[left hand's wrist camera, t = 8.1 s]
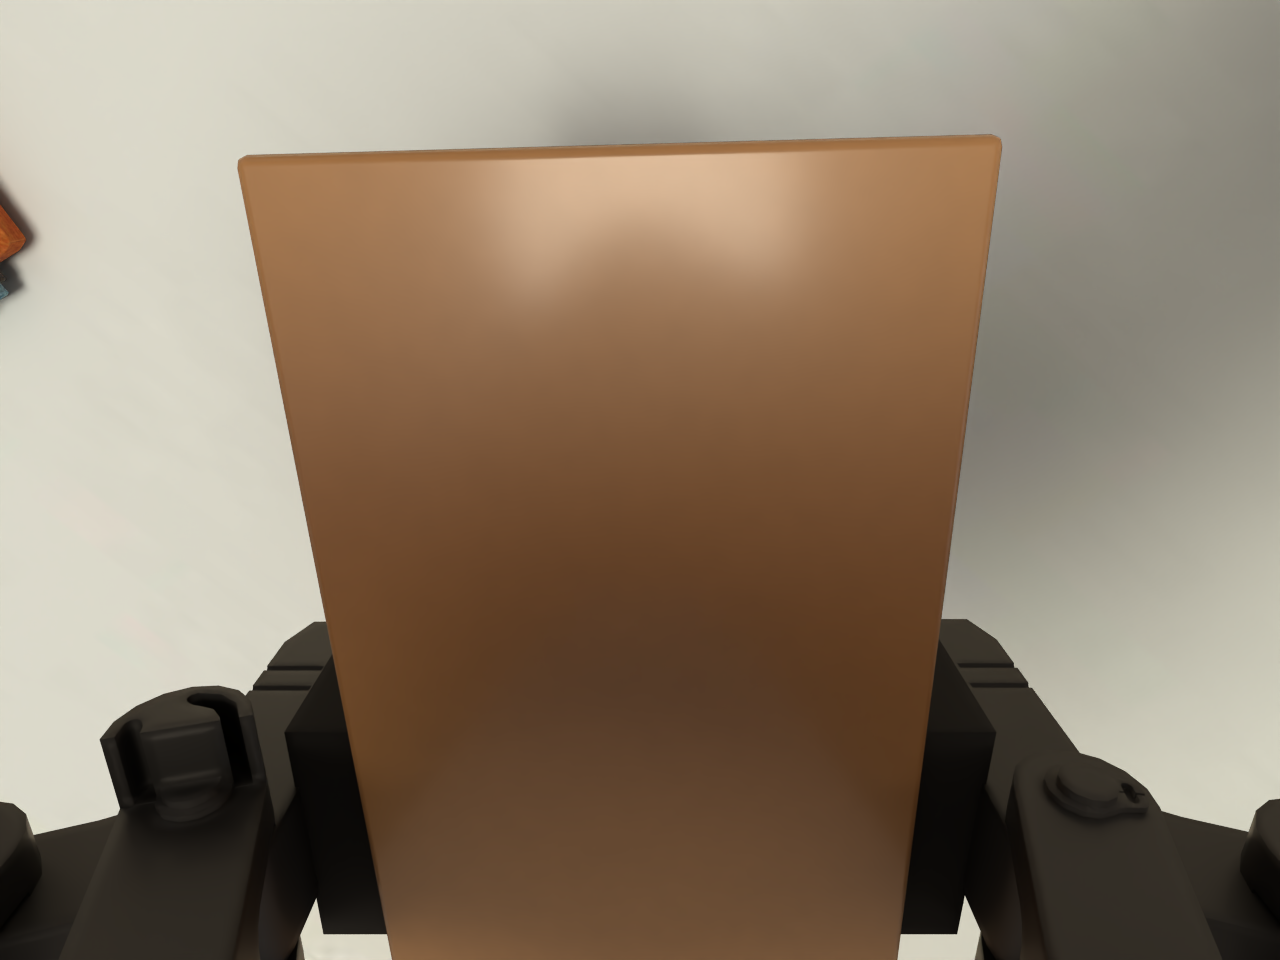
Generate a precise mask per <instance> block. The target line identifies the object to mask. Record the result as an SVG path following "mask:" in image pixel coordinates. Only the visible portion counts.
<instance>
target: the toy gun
mask: <svg viewBox="0 0 1280 960" xmlns="http://www.w3.org/2000/svg"><path fill="white" fill-rule="evenodd" d="M25 241H26V239H25V237H24V235H23V234H22V232H21V231H20V230H19V229H18V227H17V226H16V225H15V223H14V222H13V221H12V220H11V218H10V217H9V216H8V214H7V213H6V212H5V210H4V209H3V208H2V207H1V205H0V262H2V261H3V260H5V259H6V258H8V257H10V256H11V255H13V254H14V253H16V252H18V251H19V250H20V249H21V248H22V246H23V244H24V243H25ZM5 280H7V279H6V278H5V277H4V276H3V274H2V273H1V272H0V299H2V298H4V297H5V296H7V295H8V293H9V292H8V291H7V290H6V289H5V288H4V286H3V285H2V284H1V283H2V282H3V281H5Z"/></svg>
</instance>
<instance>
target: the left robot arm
mask: <svg viewBox="0 0 1280 960" xmlns="http://www.w3.org/2000/svg"><path fill="white" fill-rule="evenodd" d="M267 667H268V668H267V671H263V673H262V674H261V675H260V677H259V678H258V679H257V681H256V682H255V684H254V685H253V690H252V691H249V692H248V693H247V695H246V696H245V695H244V694H243V693H241V692H240V691H239V690H235V689H231V688H226V687H222V686H201V687H190V688H186V689H182V690H178V691H174V692H170V693H166V694H163V695H160V696H158V697H156V698H154V699H151V700H149V701H147V702H144V703H142V704H140V705H138V706H136V707H134V708H133V709H131V710H130V711H129V712H127V713H126V714H124V715H123V716H121V717H120V718H119V719H117V720H116V721H114V722H113V723H112V725H111V726H110V727H109V728H108V730H107V731H106V732H105V733H104V735H103V736H102V737H101V738H100V742H101V746H102V749H103V752H104V756H105V759H106V762H107V766H108V769H109V772H110V776H111V779H112V783H113V786H114V789H115V793H116V796H117V799H118V803H119V806H120V810H119V813H118V815H116V816H113V817H109V818H106V819H102V820H99V821H94V822H90V823H86V824H81V825H77V826H72V827H68V828H63V829H59V830H54V831H50V832H45V833H41V834H37V835H33V833H32V830H31V827H30V824H29V822H28V819H27V816H26V814H25V813H24V812H23V811H22V810H20V809H19V808H18V807H17V806H15V805H14V804H12V803H4V802H0V960H305V959H304V952H303V947H302V942H301V937H300V934H301V932H302V930H303V927H304V925H305V923H306V920H307V918H308V916H309V913H310V911H311V909H312V907H313V904H314V902H315V900H316V898H317V903H318V908H319V913H320V918H321V924H322V929H323V934H387V931H386V925H385V920H384V915H383V910H382V905H381V900H380V895H379V890H378V885H377V879H376V874H375V869H374V864H373V859H372V854H371V849H370V844H369V838H368V833H367V828H366V823H365V818H364V813H363V808H362V803H361V798H360V792H359V787H358V782H357V777H356V772H355V767H354V762H353V757H352V751H351V746H350V741H349V736H348V731H347V726H346V721H345V716H344V711H343V705H342V700H341V695H340V690H339V685H338V680H337V675H336V670H335V665H334V659H333V654H332V649H331V644H330V639H329V634H328V629H327V624H326V622H313V623H312V624H310V625H309V626H307V627H306V628H305V629H303V630H302V631H300V632H299V633H297V634H296V635H294V636H293V637H291V638H290V639H289V640H287V641H286V642H284V644H283V645H282V647H281V648H280V649H279V651H278V652H277V653H276V655H275V656H274V658H273V659H272V660H271V662H270V663H269V664H268V666H267ZM964 896H966V899H967V901H968V903H969V906H970V908H971V910H972V912H973V915H974V917H975V919H976V921H977V924H978V926H979V928H980V931H981V932H980V937H979V942H978V947H977V951H976V956H975V960H1280V799H1275V800H1269V801H1268V802H1266V803H1265V804H1264V805H1263V806H1261V807H1260V808H1259V809H1257V810H1256V813H1255V816H1254V818H1253V821H1252V824H1251V827H1250V830H1249V832H1246V831H1242V830H1237V829H1233V828H1228V827H1224V826H1219V825H1215V824H1211V823H1206V822H1202V821H1197V820H1193V819H1188V818H1184V817H1180V816H1177V815H1173V814H1170V813H1166V812H1163V811H1161V809H1160V807H1159V806H1158V804H1157V803H1156V801H1155V800H1154V798H1153V797H1152V795H1151V794H1150V792H1149V791H1148V789H1147V788H1145V787H1144V786H1143V785H1142V784H1140V783H1139V782H1138V781H1137V780H1135V779H1134V778H1133V777H1132V776H1130V775H1129V774H1128V773H1127V772H1125V771H1123V770H1121V769H1119V768H1117V767H1115V766H1113V765H1111V764H1109V763H1107V762H1105V761H1103V760H1101V759H1099V758H1096V757H1092V756H1088V755H1085V754H1081V753H1079V751H1078V750H1077V749H1076V747H1075V746H1074V744H1073V743H1072V742H1071V740H1070V739H1069V738H1068V736H1067V735H1066V734H1065V732H1064V731H1063V729H1062V728H1061V727H1060V725H1059V724H1058V723H1057V721H1056V720H1055V719H1054V717H1053V716H1052V714H1051V713H1050V712H1049V710H1048V709H1047V708H1046V706H1045V705H1044V704H1043V702H1042V701H1041V699H1040V698H1039V697H1038V695H1037V694H1036V693H1035V691H1034V690H1033V689H1032V688H1029V687H1028V682H1027V680H1026V679H1025V678H1024V676H1023V675H1022V674H1021V672H1020V671H1019V670H1018V668H1014V663H1013V661H1012V660H1011V659H1010V657H1009V656H1008V655H1007V653H1006V652H1005V650H1004V649H1003V648H1002V646H1001V645H1000V644H999V642H998V641H997V640H996V639H995V638H994V637H992V636H991V635H989V634H988V633H986V632H985V631H983V630H982V629H980V628H979V627H977V626H976V625H974V624H973V623H972V622H970V621H969V620H967V619H941V624H940V632H939V640H938V647H937V655H936V663H935V671H934V679H933V686H932V694H931V702H930V710H929V717H928V725H927V733H926V741H925V748H924V756H923V764H922V772H921V779H920V787H919V795H918V803H917V810H916V818H915V826H914V834H913V842H912V849H911V857H910V865H909V873H908V880H907V888H906V896H905V904H904V911H903V919H902V927H901V934H957V932H958V927H959V922H960V917H961V912H962V906H963V901H964Z"/></svg>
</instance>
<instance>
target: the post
mask: <svg viewBox="0 0 1280 960" xmlns="http://www.w3.org/2000/svg"><path fill="white" fill-rule="evenodd" d="M1001 151H1002V144H1001V139H1000V138H999V137H997V136H994V135H992V134H984V135H948V136H913V137H877V138H841V139H805V140H769V141H733V142H697V143H661V144H625V145H589V146H553V147H518V148H482V149H446V150H410V151H374V152H338V153H302V154H266V155H246V156H244V157H242V158H241V159H239V160H238V173H239V178H240V184H241V189H242V194H243V199H244V204H245V209H246V214H247V219H248V224H249V230H250V235H251V240H252V245H253V250H254V255H255V260H256V265H257V271H258V276H259V281H260V286H261V291H262V296H263V301H264V306H265V311H266V317H267V322H268V327H269V332H270V337H271V342H272V347H273V352H274V358H275V363H276V368H277V373H278V378H279V383H280V388H281V393H282V398H283V404H284V409H285V414H286V419H287V424H288V429H289V434H290V439H291V444H292V450H293V455H294V460H295V465H296V470H297V475H298V480H299V485H300V491H301V496H302V501H303V506H304V511H305V516H306V521H307V526H308V531H309V537H310V542H311V547H312V552H313V557H314V562H315V567H316V572H317V578H318V583H319V588H320V593H321V598H322V603H323V608H324V613H325V618H326V624H327V629H328V634H329V639H330V644H331V649H332V654H333V659H334V665H335V670H336V675H337V680H338V685H339V690H340V695H341V700H342V705H343V711H344V716H345V721H346V726H347V731H348V736H349V741H350V746H351V751H352V757H353V762H354V767H355V772H356V777H357V782H358V787H359V792H360V798H361V803H362V808H363V813H364V818H365V823H366V828H367V833H368V838H369V844H370V849H371V854H372V859H373V864H374V869H375V874H376V879H377V885H378V890H379V895H380V900H381V905H382V910H383V915H384V920H385V925H386V931H387V936H388V941H389V946H390V951H391V956H392V960H897V958H898V950H899V942H900V935H901V927H902V919H903V911H904V904H905V896H906V888H907V880H908V873H909V865H910V857H911V849H912V842H913V834H914V826H915V818H916V810H917V803H918V795H919V787H920V779H921V772H922V764H923V756H924V748H925V741H926V733H927V725H928V717H929V710H930V702H931V694H932V686H933V679H934V671H935V663H936V655H937V647H938V640H939V632H940V624H941V616H942V609H943V601H944V593H945V585H946V578H947V570H948V562H949V554H950V547H951V539H952V531H953V523H954V516H955V508H956V500H957V492H958V485H959V477H960V469H961V461H962V453H963V446H964V438H965V430H966V422H967V415H968V407H969V399H970V391H971V384H972V376H973V368H974V360H975V353H976V345H977V337H978V329H979V322H980V314H981V306H982V298H983V290H984V283H985V275H986V267H987V259H988V252H989V244H990V236H991V228H992V221H993V213H994V205H995V197H996V190H997V182H998V174H999V166H1000V159H1001Z"/></svg>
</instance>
